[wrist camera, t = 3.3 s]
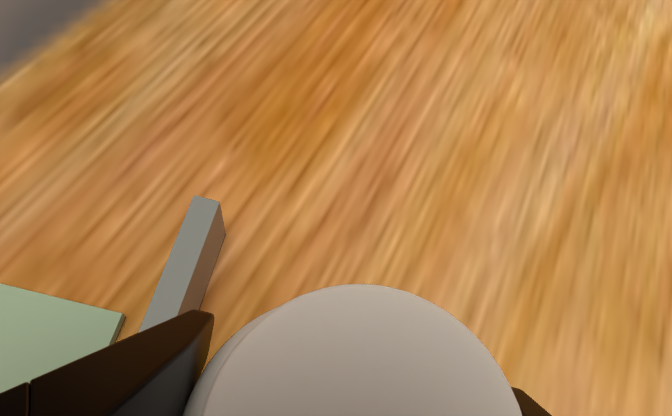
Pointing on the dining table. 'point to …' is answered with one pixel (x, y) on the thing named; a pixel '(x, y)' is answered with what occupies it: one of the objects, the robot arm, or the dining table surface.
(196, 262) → the acrylic wall
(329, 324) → the supplement bottle
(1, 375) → the coaster
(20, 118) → the dining table surface
